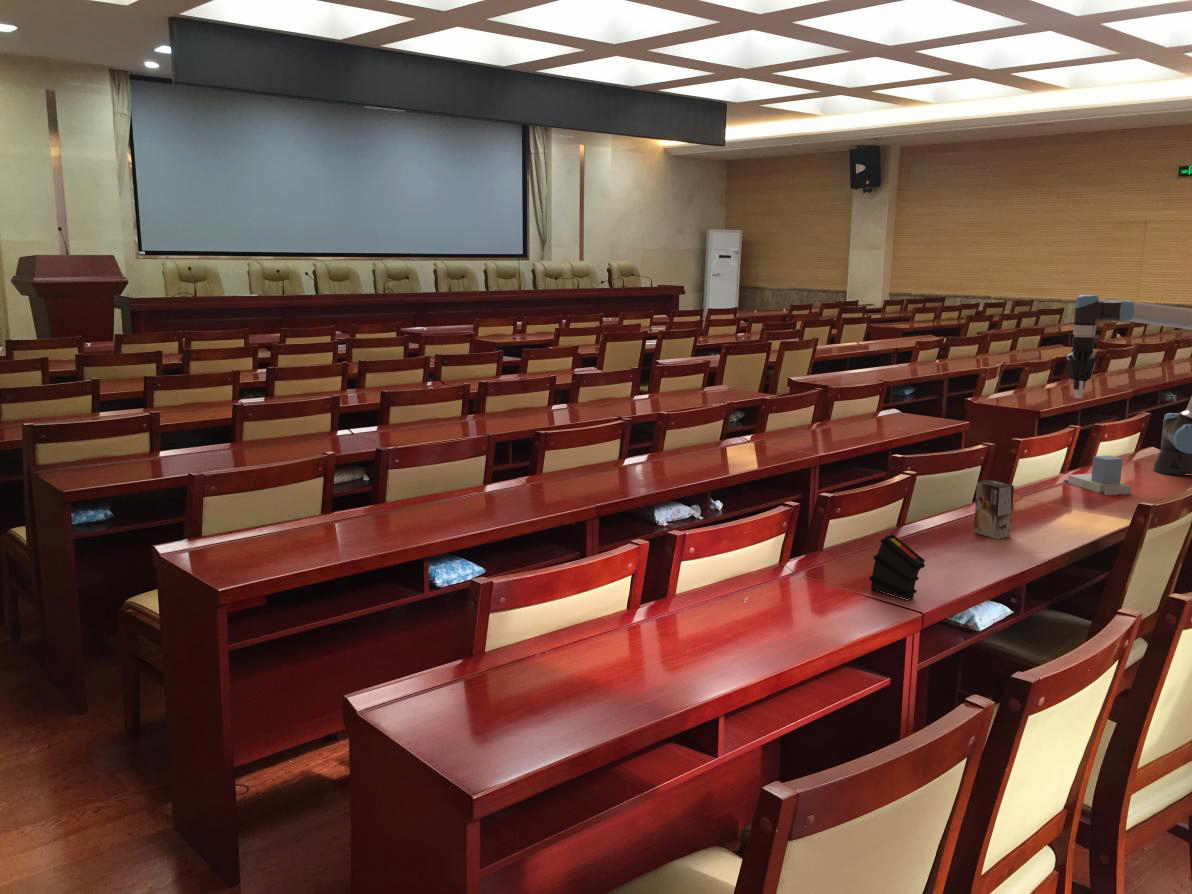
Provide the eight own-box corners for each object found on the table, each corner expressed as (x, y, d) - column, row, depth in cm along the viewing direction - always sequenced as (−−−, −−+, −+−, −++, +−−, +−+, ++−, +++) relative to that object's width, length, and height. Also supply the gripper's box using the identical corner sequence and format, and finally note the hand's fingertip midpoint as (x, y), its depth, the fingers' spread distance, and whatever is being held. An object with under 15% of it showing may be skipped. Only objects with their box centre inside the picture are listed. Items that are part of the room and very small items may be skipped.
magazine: (868, 577, 249) (892, 532, 242) (906, 611, 241) (933, 566, 234) (859, 580, 247) (883, 535, 240) (897, 614, 239) (924, 569, 232)
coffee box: (1011, 537, 290) (1015, 485, 287) (995, 539, 287) (1000, 487, 284) (987, 529, 298) (991, 479, 295) (972, 532, 295) (976, 481, 292)
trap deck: (1086, 479, 362) (1087, 472, 361) (1130, 493, 340) (1131, 485, 340) (1063, 481, 360) (1064, 473, 359) (1106, 495, 338) (1106, 487, 338)
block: (1108, 479, 349) (1110, 455, 347) (1120, 483, 343) (1122, 458, 341) (1091, 480, 347) (1093, 456, 346) (1102, 484, 342) (1105, 459, 340)
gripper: (1091, 335, 368) (1086, 395, 373) (1061, 335, 366) (1056, 397, 370) (1105, 336, 361) (1099, 398, 366) (1075, 337, 358) (1069, 399, 363)
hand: (1078, 397), depth 368 cm, fingers closed
